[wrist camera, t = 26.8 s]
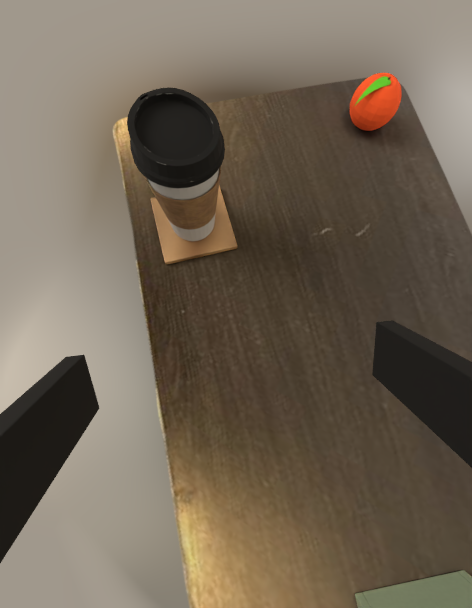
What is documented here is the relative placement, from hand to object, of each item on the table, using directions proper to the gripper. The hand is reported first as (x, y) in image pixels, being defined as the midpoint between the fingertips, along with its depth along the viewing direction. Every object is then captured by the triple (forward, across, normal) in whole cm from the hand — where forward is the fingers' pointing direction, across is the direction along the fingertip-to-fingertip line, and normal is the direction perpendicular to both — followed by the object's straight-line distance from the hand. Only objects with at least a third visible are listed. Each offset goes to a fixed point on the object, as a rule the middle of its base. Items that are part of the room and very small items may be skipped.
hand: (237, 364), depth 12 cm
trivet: (+28, -3, +7) cm, 29 cm away
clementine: (+37, +25, +20) cm, 49 cm away
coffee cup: (+28, -3, +7) cm, 29 cm away
